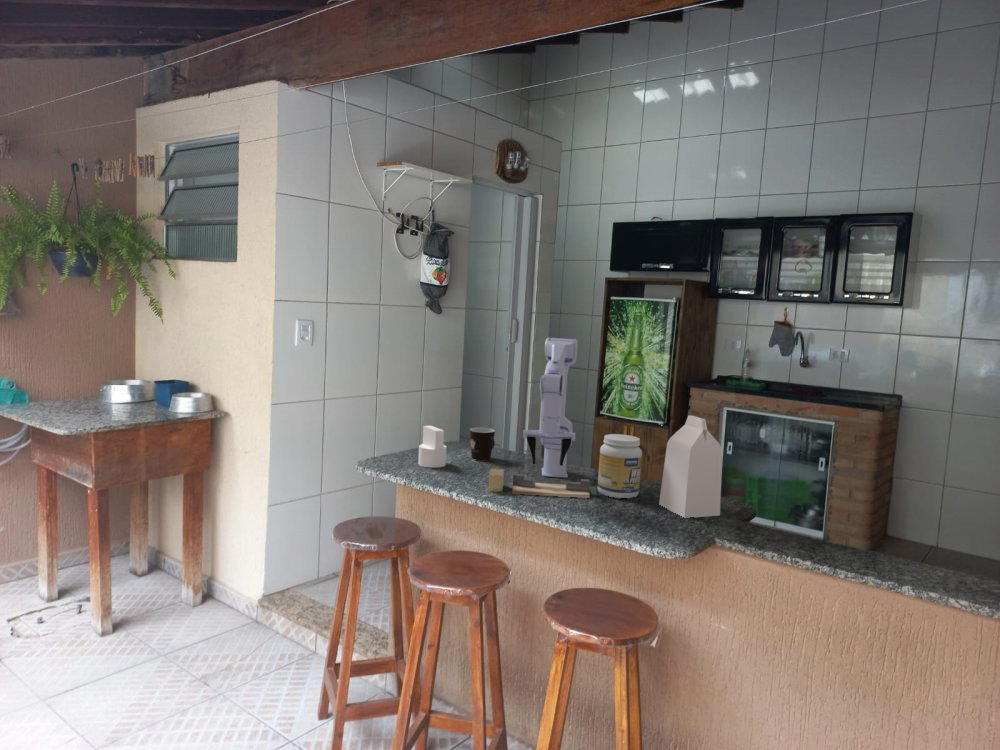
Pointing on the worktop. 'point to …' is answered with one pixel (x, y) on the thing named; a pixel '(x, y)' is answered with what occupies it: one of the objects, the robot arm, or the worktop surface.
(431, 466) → the base with upright slab
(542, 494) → the wooden board
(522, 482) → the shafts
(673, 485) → the milk
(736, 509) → the worktop surface
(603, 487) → the supplement tub
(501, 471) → the gold rectangular block
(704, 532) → the worktop surface
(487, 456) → the coffee mug
